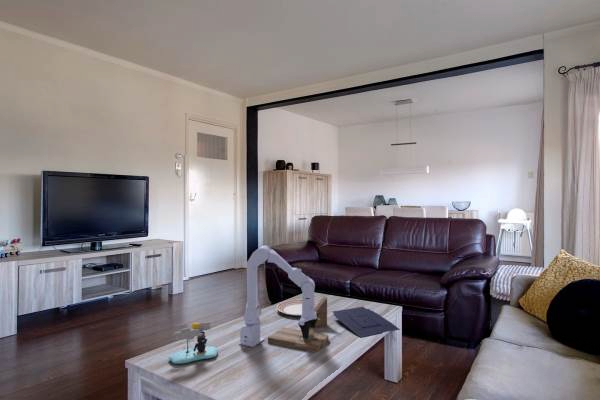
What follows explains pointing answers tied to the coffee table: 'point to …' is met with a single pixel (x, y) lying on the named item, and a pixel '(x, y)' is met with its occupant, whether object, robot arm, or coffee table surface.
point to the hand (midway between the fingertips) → (308, 336)
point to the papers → (364, 321)
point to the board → (297, 340)
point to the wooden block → (321, 312)
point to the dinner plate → (292, 307)
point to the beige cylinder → (310, 334)
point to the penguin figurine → (201, 350)
